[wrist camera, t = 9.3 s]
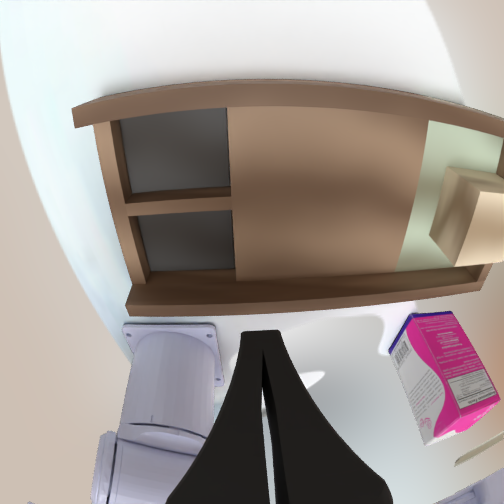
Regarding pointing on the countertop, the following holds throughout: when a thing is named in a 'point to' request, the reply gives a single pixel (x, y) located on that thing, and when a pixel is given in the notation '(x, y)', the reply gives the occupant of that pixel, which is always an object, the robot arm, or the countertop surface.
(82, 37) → the countertop surface
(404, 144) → the compartment tray
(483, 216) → the birch block
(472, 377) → the supplement box
